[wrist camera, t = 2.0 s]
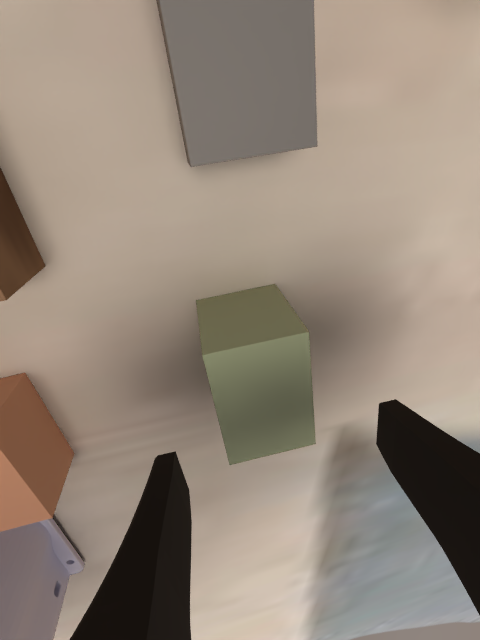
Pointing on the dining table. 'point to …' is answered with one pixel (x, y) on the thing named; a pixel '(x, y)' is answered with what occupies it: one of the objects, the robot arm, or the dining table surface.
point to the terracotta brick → (29, 455)
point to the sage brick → (258, 372)
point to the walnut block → (15, 245)
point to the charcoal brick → (242, 76)
